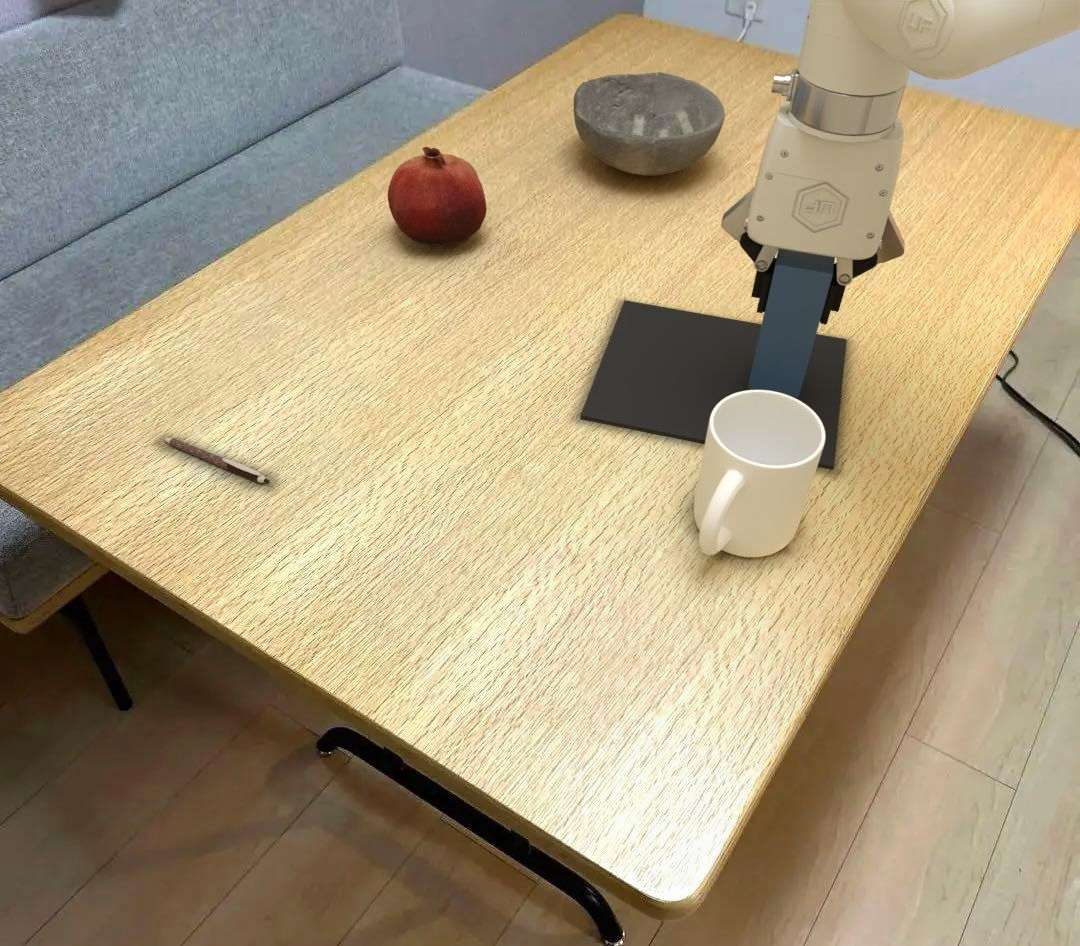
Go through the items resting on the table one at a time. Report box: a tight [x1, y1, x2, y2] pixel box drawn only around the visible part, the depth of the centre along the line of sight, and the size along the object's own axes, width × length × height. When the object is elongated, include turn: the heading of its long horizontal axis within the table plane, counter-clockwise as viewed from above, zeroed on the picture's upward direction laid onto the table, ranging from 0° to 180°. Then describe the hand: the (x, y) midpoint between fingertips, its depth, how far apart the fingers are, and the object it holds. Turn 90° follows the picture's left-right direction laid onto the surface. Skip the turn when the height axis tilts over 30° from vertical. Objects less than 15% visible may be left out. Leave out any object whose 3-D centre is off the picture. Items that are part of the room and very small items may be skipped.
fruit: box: [387, 146, 488, 246], centre depth 100 cm, size 11×10×10 cm
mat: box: [579, 299, 848, 470], centre depth 87 cm, size 22×18×1 cm
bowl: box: [573, 71, 726, 176], centre depth 113 cm, size 18×18×8 cm
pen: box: [163, 437, 270, 484], centre depth 79 cm, size 11×1×1 cm, turn 63°
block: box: [748, 249, 836, 398], centre depth 81 cm, size 4×4×13 cm
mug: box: [693, 390, 825, 558], centre depth 71 cm, size 12×8×10 cm
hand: (793, 307), depth 80 cm, fingers closed on block, 4 cm apart
